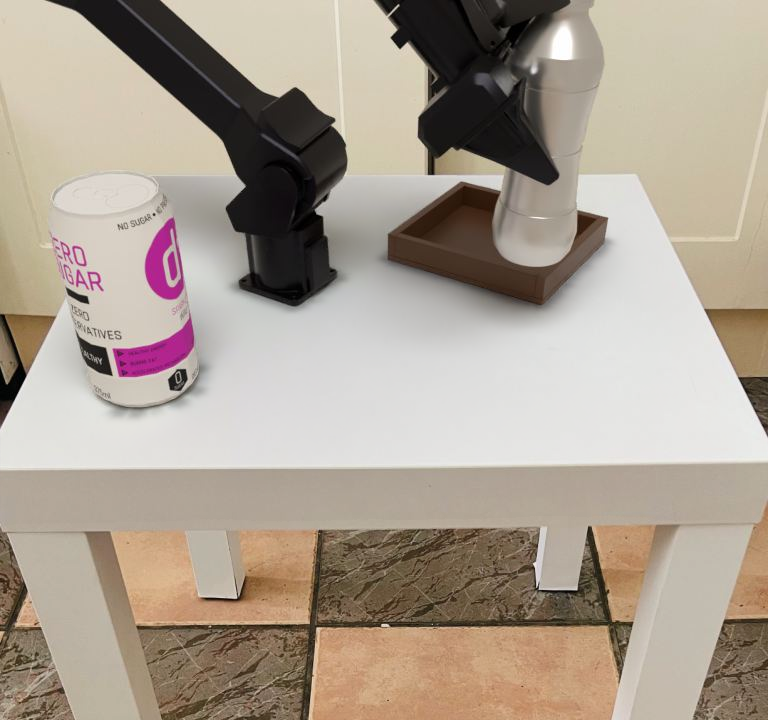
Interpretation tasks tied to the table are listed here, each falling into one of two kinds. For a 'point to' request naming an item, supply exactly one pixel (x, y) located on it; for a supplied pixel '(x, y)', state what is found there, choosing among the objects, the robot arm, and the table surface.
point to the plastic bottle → (550, 133)
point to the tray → (484, 245)
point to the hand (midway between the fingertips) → (560, 165)
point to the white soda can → (124, 286)
